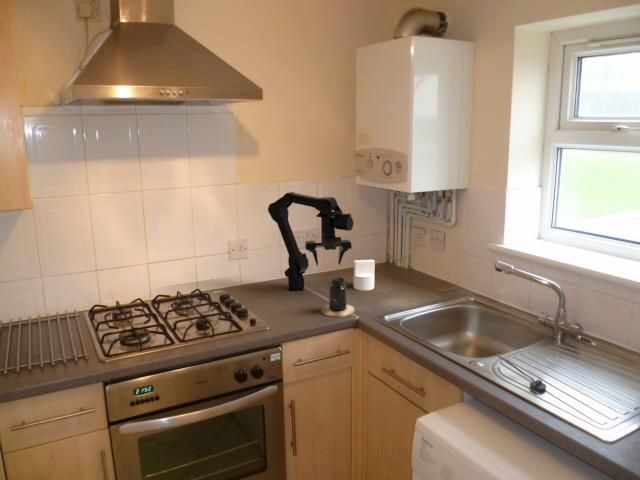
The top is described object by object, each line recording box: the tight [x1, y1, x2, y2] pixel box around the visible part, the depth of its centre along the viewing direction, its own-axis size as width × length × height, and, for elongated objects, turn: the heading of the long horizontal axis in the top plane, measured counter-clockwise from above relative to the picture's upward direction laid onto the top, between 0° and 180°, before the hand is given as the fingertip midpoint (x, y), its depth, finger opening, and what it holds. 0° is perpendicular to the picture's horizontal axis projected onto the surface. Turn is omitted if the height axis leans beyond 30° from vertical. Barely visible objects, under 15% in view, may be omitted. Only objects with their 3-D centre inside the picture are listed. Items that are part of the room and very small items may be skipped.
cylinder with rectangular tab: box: [353, 259, 376, 291], centre depth 237 cm, size 9×9×12 cm
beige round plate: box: [320, 303, 356, 318], centre depth 209 cm, size 13×13×1 cm
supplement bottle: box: [328, 277, 348, 311], centre depth 208 cm, size 7×7×12 cm
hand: (328, 264), depth 225 cm, fingers open, 9 cm apart
